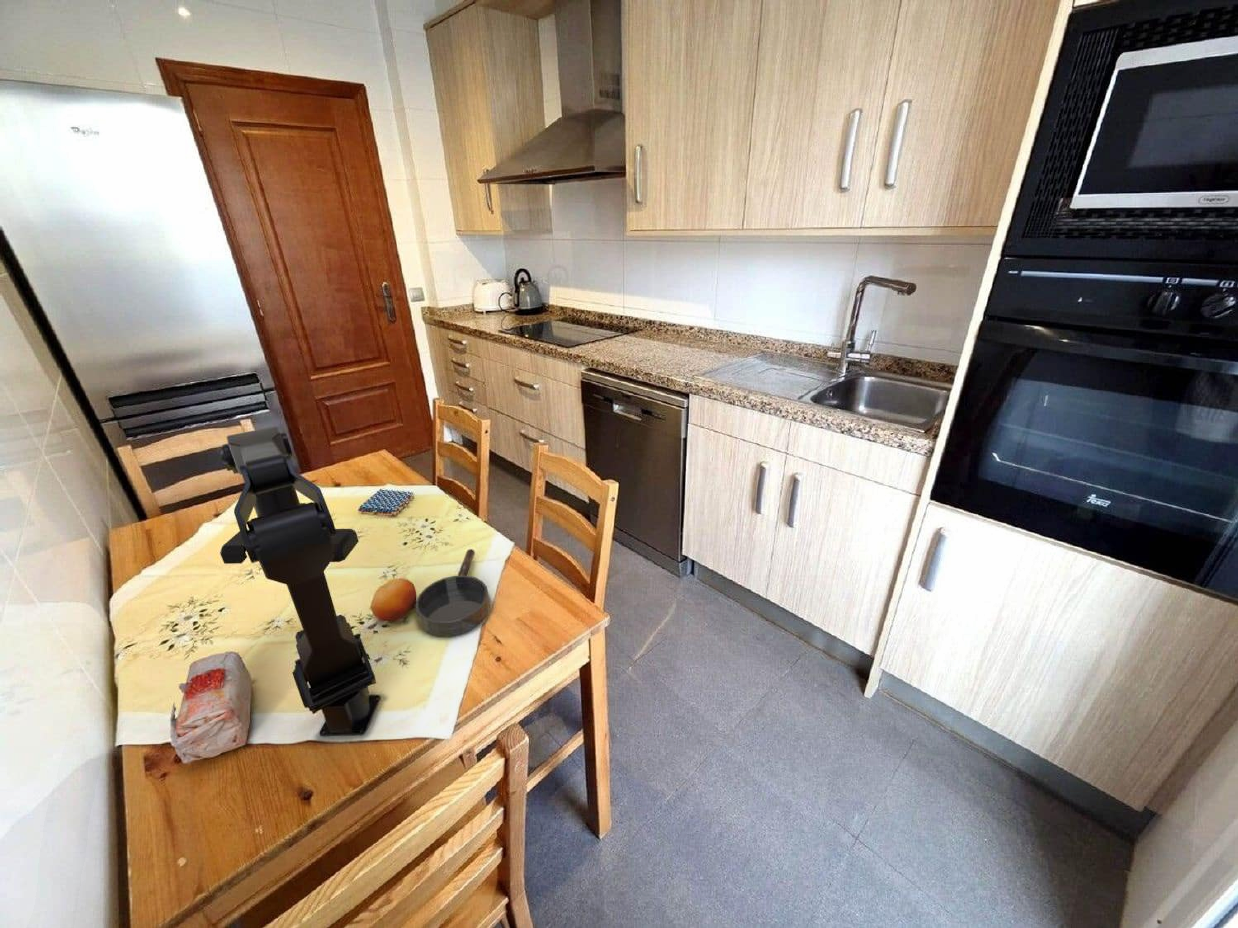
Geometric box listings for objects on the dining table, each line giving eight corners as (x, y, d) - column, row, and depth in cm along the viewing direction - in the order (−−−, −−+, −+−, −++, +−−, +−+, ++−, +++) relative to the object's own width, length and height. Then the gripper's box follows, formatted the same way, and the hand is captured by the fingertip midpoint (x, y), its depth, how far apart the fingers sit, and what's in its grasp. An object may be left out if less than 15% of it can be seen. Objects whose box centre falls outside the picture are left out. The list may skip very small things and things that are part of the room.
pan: (482, 636, 90) (480, 621, 89) (409, 638, 90) (405, 623, 88) (495, 588, 102) (493, 574, 100) (430, 589, 101) (427, 576, 100)
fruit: (411, 627, 90) (383, 593, 88) (382, 637, 93) (355, 605, 91) (435, 597, 97) (410, 565, 95) (408, 607, 100) (383, 577, 98)
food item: (255, 748, 71) (231, 700, 67) (184, 777, 67) (154, 729, 63) (257, 679, 81) (237, 634, 77) (196, 701, 78) (171, 655, 73)
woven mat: (416, 497, 134) (415, 490, 133) (395, 518, 125) (393, 511, 124) (380, 493, 136) (379, 487, 135) (356, 514, 126) (355, 507, 125)
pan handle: (465, 583, 100) (464, 576, 100) (456, 583, 100) (455, 576, 100) (476, 554, 109) (475, 547, 108) (467, 554, 109) (466, 547, 108)
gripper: (362, 481, 85) (381, 557, 92) (249, 482, 84) (276, 558, 91) (330, 516, 75) (353, 598, 81) (201, 518, 74) (236, 600, 81)
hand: (305, 587), depth 84 cm, fingers closed
